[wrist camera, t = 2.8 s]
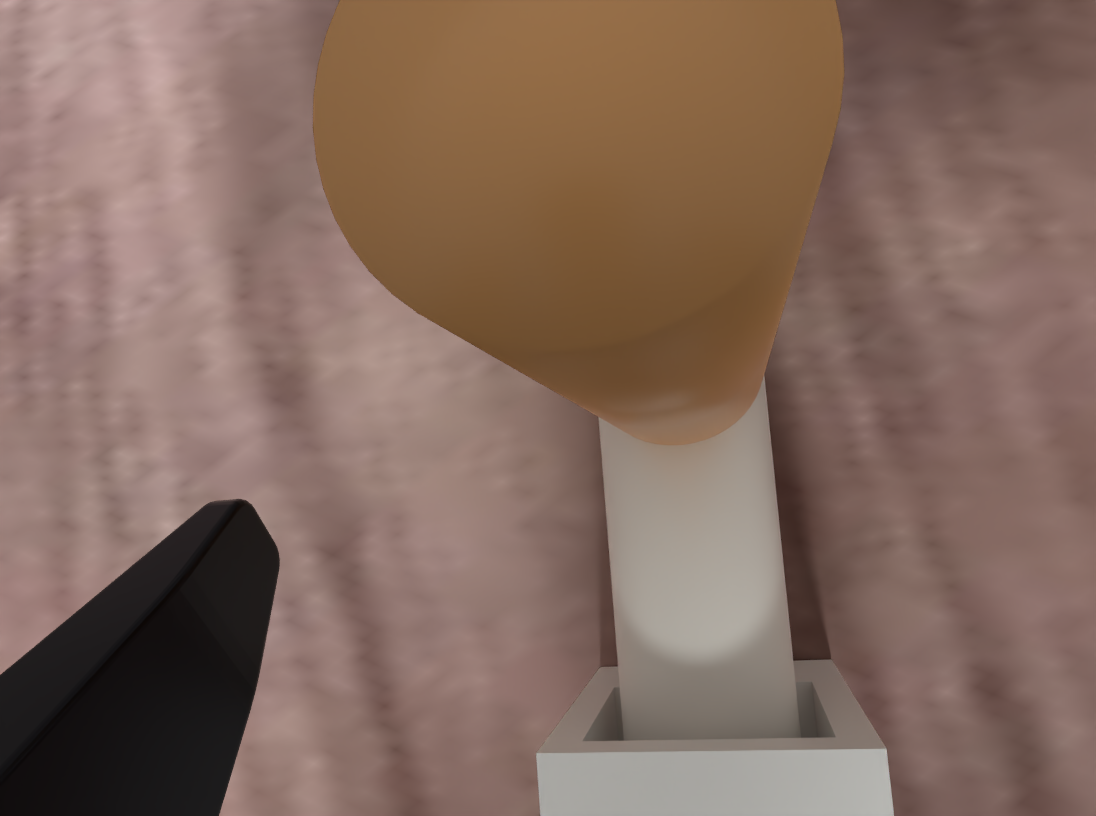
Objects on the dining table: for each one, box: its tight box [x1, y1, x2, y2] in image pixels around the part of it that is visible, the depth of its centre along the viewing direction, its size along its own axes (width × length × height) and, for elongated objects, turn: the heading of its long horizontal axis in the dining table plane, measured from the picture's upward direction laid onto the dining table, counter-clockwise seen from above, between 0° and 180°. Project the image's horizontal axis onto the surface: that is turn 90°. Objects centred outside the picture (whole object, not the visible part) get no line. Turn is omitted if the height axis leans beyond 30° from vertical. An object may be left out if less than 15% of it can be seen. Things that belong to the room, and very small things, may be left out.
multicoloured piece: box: [313, 0, 844, 741], centre depth 10 cm, size 16×3×12 cm, turn 4°
